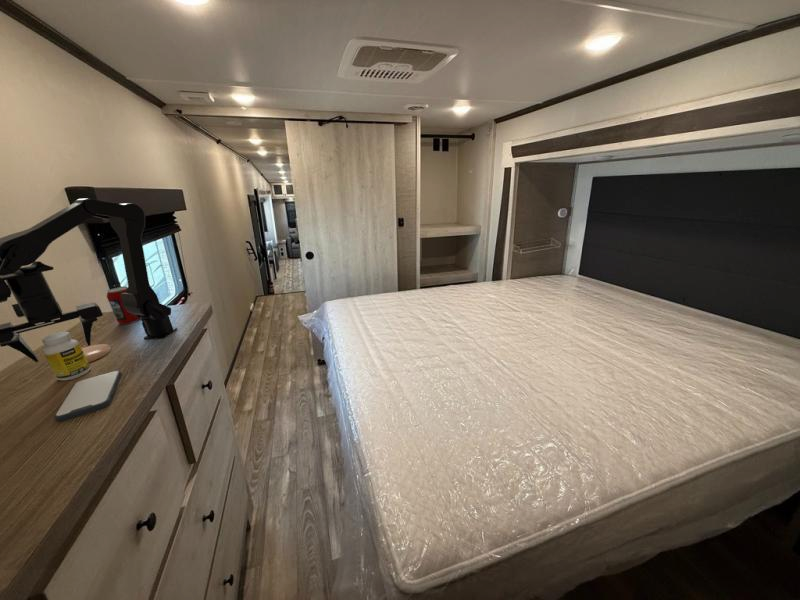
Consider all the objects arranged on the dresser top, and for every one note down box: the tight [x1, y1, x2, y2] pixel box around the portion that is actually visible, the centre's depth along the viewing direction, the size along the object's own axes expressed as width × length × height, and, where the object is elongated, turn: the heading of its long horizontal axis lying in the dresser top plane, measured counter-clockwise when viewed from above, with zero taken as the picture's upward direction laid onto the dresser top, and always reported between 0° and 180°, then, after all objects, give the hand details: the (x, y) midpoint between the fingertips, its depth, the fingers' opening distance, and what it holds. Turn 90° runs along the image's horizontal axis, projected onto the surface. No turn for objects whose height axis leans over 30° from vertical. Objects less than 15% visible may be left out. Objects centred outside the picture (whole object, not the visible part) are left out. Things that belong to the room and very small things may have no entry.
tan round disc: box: [81, 343, 112, 364], centre depth 89 cm, size 11×11×1 cm
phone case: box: [53, 370, 122, 423], centre depth 71 cm, size 9×2×16 cm
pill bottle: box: [41, 331, 91, 381], centre depth 78 cm, size 6×6×11 cm
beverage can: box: [106, 286, 141, 325], centre depth 109 cm, size 7×7×12 cm
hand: (64, 353), depth 78 cm, fingers open, 9 cm apart
